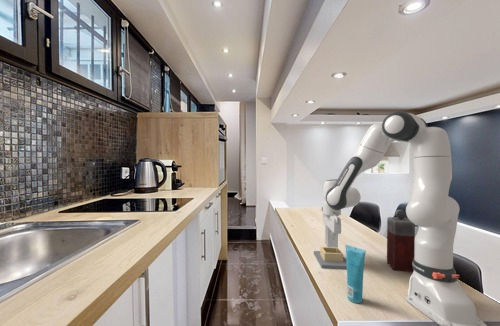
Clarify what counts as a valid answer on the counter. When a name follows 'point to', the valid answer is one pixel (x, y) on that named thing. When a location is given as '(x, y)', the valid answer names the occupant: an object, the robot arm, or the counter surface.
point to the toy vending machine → (400, 242)
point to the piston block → (328, 240)
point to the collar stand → (330, 258)
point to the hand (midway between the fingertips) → (331, 237)
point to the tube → (355, 273)
